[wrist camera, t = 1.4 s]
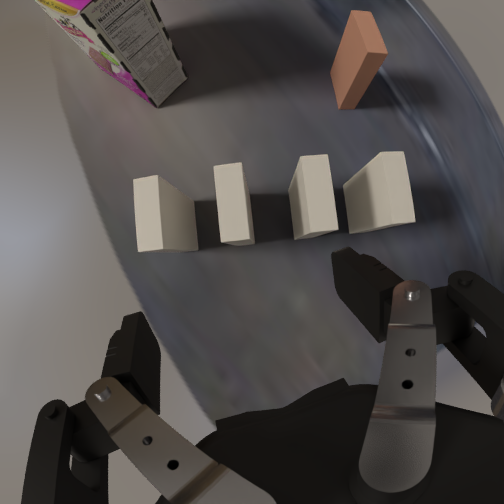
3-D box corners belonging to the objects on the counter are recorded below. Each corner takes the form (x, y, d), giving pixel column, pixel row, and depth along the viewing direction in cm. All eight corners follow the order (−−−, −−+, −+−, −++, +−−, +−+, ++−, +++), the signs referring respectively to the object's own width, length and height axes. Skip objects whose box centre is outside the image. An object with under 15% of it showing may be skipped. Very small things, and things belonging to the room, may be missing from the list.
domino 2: (231, 196, 28) (213, 165, 18) (249, 194, 27) (241, 162, 17) (236, 246, 27) (221, 242, 17) (255, 244, 27) (249, 239, 17)
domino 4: (330, 72, 27) (351, 10, 17) (344, 72, 27) (370, 11, 17) (338, 109, 27) (367, 52, 17) (354, 109, 27) (388, 53, 17)
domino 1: (177, 203, 28) (133, 179, 18) (194, 201, 28) (157, 174, 18) (181, 252, 28) (138, 252, 18) (198, 250, 28) (163, 249, 18)
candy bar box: (97, 69, 28) (19, -12, 12) (127, 39, 28) (65, -51, 12) (157, 113, 28) (76, 11, 11) (191, 78, 28) (139, -39, 11)
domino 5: (342, 185, 27) (380, 151, 17) (359, 184, 27) (403, 151, 17) (349, 233, 27) (392, 224, 17) (365, 232, 27) (415, 221, 17)
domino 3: (288, 190, 27) (300, 156, 17) (306, 188, 27) (327, 154, 17) (294, 239, 27) (310, 232, 17) (312, 237, 27) (338, 229, 17)
